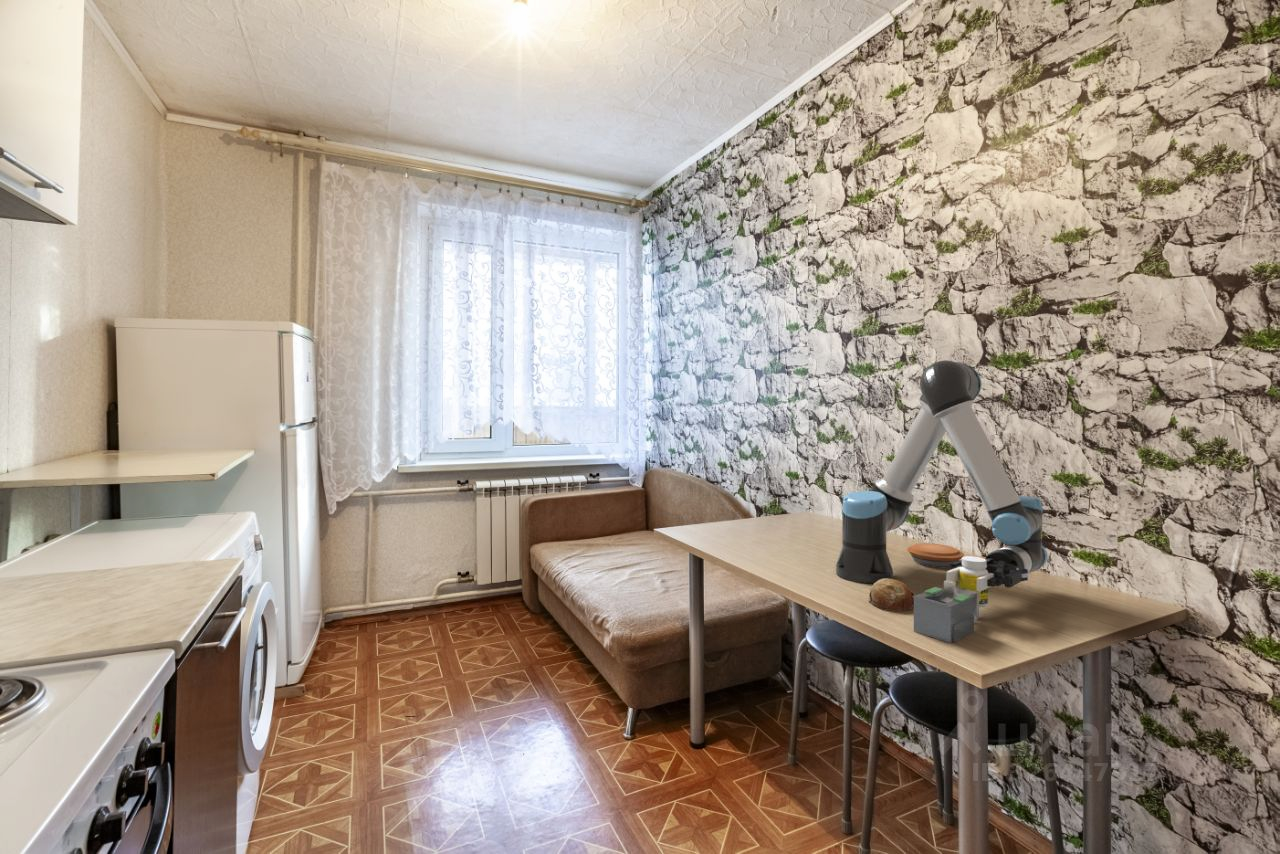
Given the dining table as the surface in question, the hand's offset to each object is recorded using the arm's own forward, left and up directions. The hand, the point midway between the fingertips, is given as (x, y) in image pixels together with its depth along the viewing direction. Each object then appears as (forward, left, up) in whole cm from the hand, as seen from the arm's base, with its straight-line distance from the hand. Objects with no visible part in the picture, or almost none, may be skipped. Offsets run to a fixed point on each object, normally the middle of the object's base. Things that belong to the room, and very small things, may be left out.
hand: (963, 581), depth 123 cm
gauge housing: (-2, -9, -9) cm, 13 cm away
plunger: (-1, -3, -8) cm, 9 cm away
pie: (-15, +48, -9) cm, 51 cm away
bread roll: (-16, +2, -9) cm, 18 cm away
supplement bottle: (+1, +5, -6) cm, 8 cm away
